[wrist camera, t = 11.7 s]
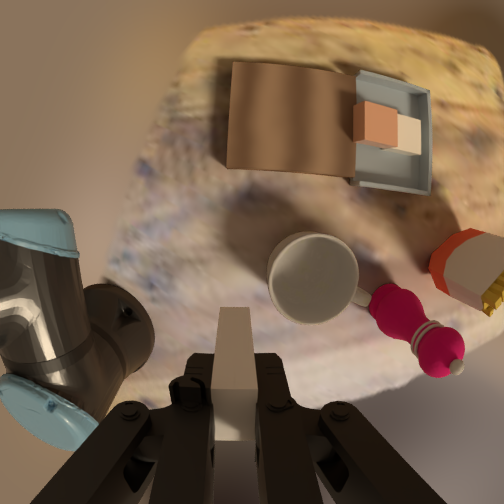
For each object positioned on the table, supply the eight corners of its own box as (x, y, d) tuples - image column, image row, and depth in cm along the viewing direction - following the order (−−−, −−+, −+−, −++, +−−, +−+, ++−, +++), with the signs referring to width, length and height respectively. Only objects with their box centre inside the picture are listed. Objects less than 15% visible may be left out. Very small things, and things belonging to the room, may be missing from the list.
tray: (349, 185, 37) (359, 185, 34) (351, 77, 34) (360, 69, 30) (417, 194, 38) (430, 196, 34) (417, 95, 34) (429, 90, 31)
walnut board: (227, 168, 36) (226, 167, 33) (233, 70, 33) (232, 61, 30) (346, 177, 37) (354, 177, 34) (348, 83, 34) (355, 76, 31)
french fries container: (468, 246, 40) (542, 275, 23) (428, 284, 41) (500, 330, 24) (461, 225, 39) (539, 248, 22) (420, 263, 40) (496, 305, 23)
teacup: (247, 275, 40) (249, 297, 32) (293, 208, 38) (306, 214, 30) (325, 322, 42) (341, 350, 34) (368, 264, 40) (394, 281, 32)
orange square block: (353, 142, 33) (364, 139, 30) (353, 105, 32) (364, 100, 29) (384, 148, 34) (397, 147, 31) (384, 113, 33) (397, 109, 30)
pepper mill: (412, 297, 42) (490, 357, 22) (383, 330, 43) (448, 405, 23) (388, 270, 40) (472, 328, 21) (356, 306, 41) (424, 385, 22)
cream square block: (380, 150, 35) (391, 148, 32) (381, 116, 34) (390, 112, 31) (409, 155, 35) (421, 154, 33) (409, 123, 34) (420, 120, 31)
